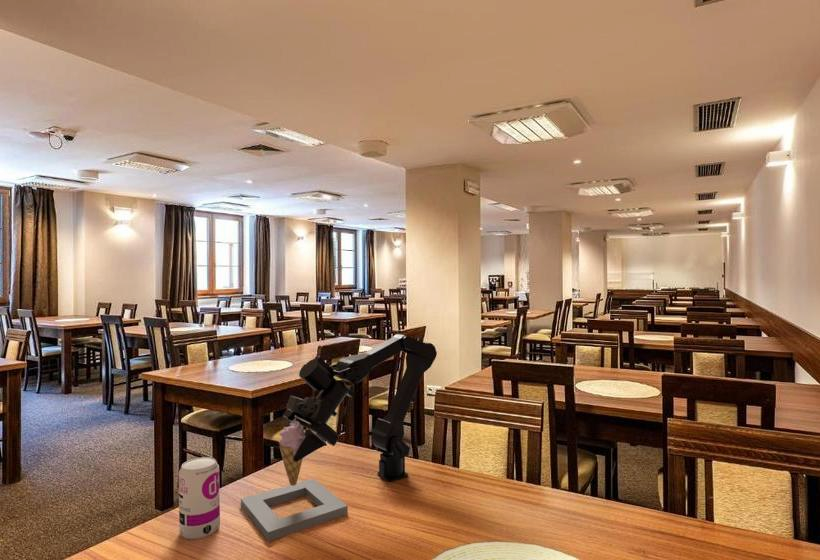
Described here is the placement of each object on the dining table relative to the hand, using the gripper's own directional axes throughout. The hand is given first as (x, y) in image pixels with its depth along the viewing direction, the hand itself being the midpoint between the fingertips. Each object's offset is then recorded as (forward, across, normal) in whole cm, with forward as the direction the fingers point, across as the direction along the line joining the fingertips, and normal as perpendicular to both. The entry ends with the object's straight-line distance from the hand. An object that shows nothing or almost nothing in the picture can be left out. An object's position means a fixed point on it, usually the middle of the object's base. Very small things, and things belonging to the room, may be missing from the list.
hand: (287, 456), depth 114 cm
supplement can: (+22, -6, -4) cm, 23 cm away
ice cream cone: (+4, 0, +6) cm, 7 cm away
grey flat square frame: (+9, 0, +10) cm, 13 cm away
